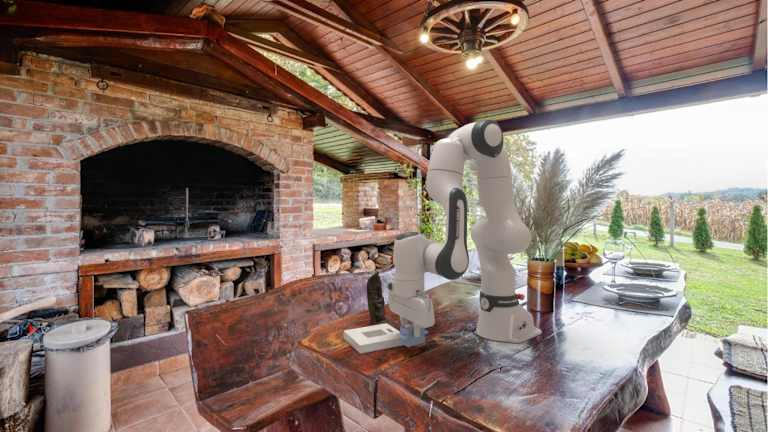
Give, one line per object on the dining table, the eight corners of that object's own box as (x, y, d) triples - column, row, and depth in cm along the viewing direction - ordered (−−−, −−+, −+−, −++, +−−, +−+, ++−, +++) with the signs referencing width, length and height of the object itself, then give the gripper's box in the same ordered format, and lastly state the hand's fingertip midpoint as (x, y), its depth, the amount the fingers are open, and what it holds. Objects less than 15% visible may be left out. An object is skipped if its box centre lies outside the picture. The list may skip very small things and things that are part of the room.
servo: (421, 337, 109) (420, 318, 109) (428, 341, 106) (427, 322, 106) (397, 343, 106) (396, 324, 105) (404, 348, 102) (403, 328, 102)
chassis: (386, 330, 124) (386, 322, 124) (407, 344, 111) (407, 335, 111) (343, 338, 117) (343, 329, 117) (360, 353, 104) (360, 344, 104)
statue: (385, 328, 126) (385, 272, 125) (366, 326, 127) (366, 271, 127) (389, 322, 133) (389, 268, 132) (370, 320, 134) (370, 268, 134)
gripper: (439, 293, 97) (440, 342, 98) (401, 279, 115) (402, 321, 116) (420, 296, 94) (421, 347, 95) (384, 282, 112) (385, 325, 113)
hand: (410, 333), depth 105 cm, fingers closed on servo, 4 cm apart
